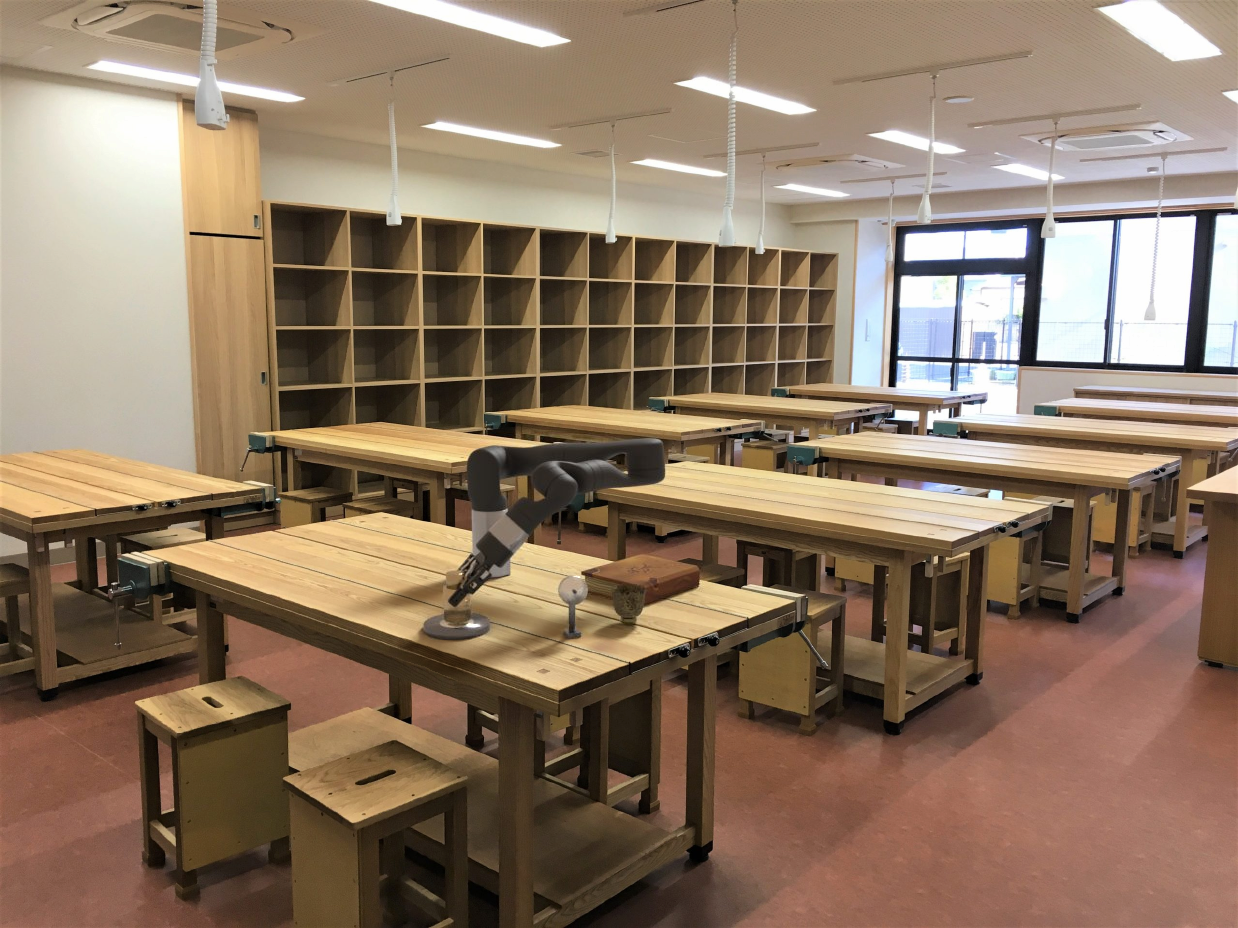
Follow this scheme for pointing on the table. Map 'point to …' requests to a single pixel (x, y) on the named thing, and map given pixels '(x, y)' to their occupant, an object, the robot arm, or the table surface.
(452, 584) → the weight
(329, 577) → the table surface
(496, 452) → the robot arm
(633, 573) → the diary
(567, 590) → the dial gauge
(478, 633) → the turntable
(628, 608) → the cup
